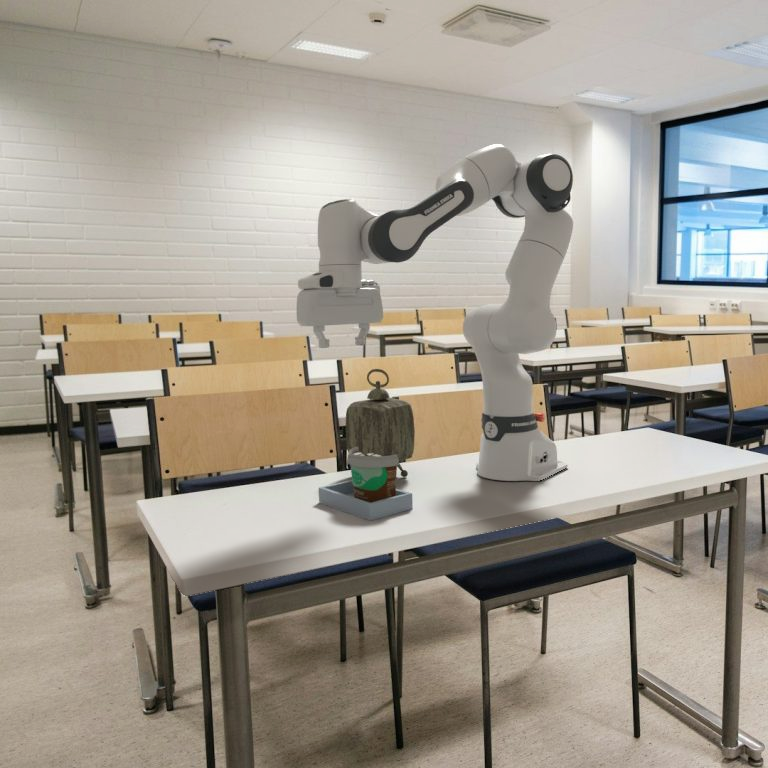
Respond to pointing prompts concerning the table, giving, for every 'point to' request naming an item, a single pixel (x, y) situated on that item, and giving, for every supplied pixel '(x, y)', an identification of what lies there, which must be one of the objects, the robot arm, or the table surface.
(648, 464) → the table surface
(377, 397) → the tabletop clock
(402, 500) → the holder tray
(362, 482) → the food container
